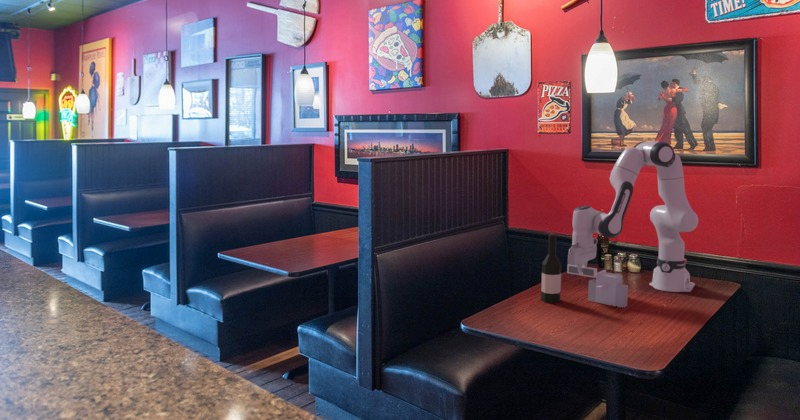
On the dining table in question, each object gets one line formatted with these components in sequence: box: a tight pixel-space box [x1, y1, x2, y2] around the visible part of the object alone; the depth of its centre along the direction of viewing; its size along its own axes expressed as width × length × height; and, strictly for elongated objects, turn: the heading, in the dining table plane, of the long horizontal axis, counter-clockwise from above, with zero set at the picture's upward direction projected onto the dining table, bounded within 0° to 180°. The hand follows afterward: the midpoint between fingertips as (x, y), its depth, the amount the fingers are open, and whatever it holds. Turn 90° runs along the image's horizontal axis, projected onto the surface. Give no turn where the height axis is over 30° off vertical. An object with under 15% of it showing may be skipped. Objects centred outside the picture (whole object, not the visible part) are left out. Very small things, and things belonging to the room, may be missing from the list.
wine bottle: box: [540, 232, 562, 304], centre depth 266 cm, size 8×8×30 cm
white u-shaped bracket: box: [566, 263, 607, 279], centre depth 281 cm, size 10×14×4 cm
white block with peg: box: [587, 271, 629, 309], centre depth 261 cm, size 13×16×12 cm
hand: (581, 271), depth 278 cm, fingers closed on white u-shaped bracket, 2 cm apart
